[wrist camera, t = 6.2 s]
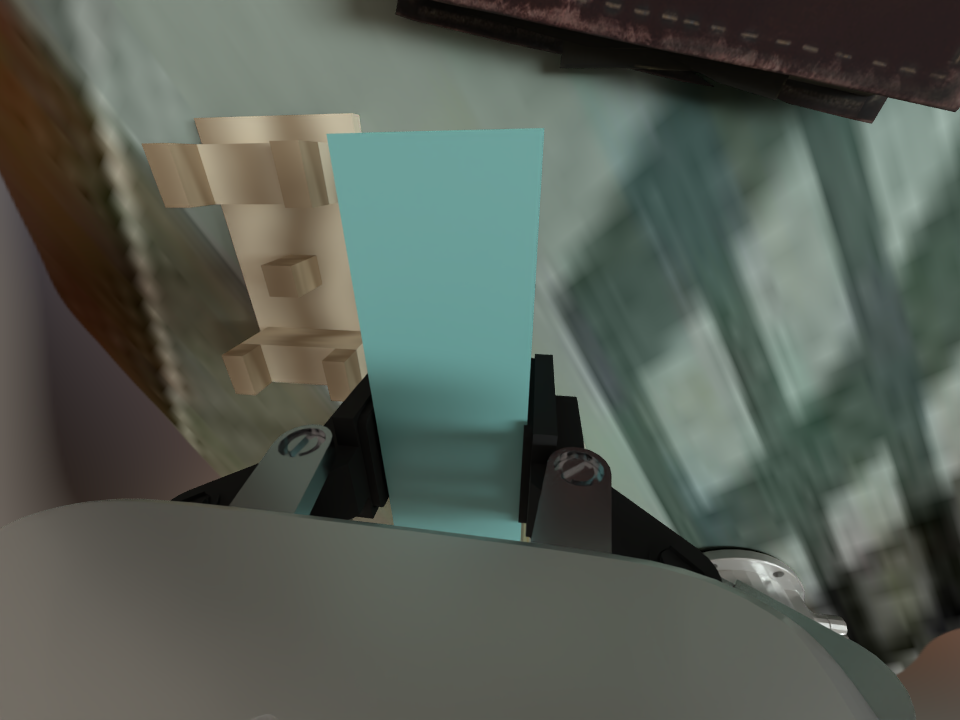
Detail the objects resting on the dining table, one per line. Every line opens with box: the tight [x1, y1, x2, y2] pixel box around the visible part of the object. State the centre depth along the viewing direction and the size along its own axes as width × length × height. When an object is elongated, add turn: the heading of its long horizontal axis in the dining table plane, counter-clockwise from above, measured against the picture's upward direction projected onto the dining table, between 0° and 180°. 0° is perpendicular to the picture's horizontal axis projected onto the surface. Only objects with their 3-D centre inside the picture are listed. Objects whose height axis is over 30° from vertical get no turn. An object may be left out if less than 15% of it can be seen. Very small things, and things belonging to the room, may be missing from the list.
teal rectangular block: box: [326, 128, 544, 541], centre depth 11 cm, size 4×14×4 cm, turn 1°
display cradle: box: [142, 113, 368, 402], centre depth 24 cm, size 10×18×6 cm, turn 1°
